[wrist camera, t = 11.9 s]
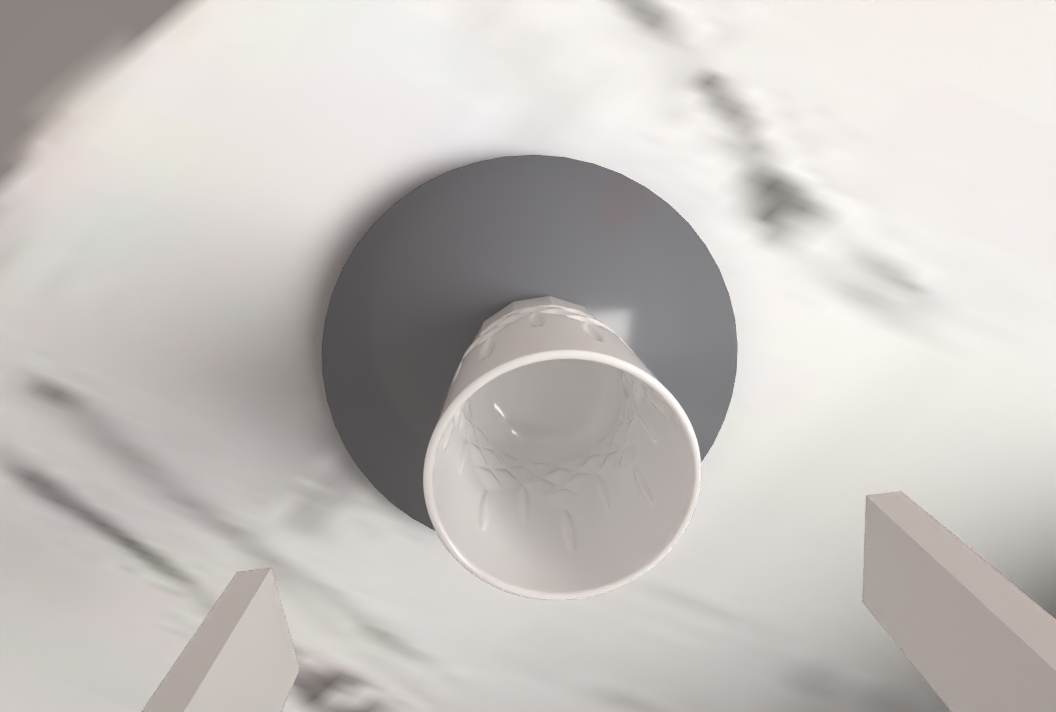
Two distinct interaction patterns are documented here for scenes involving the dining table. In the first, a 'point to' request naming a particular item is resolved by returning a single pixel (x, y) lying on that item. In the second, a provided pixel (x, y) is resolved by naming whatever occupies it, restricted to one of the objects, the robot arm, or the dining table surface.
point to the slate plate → (514, 299)
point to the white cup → (558, 457)
